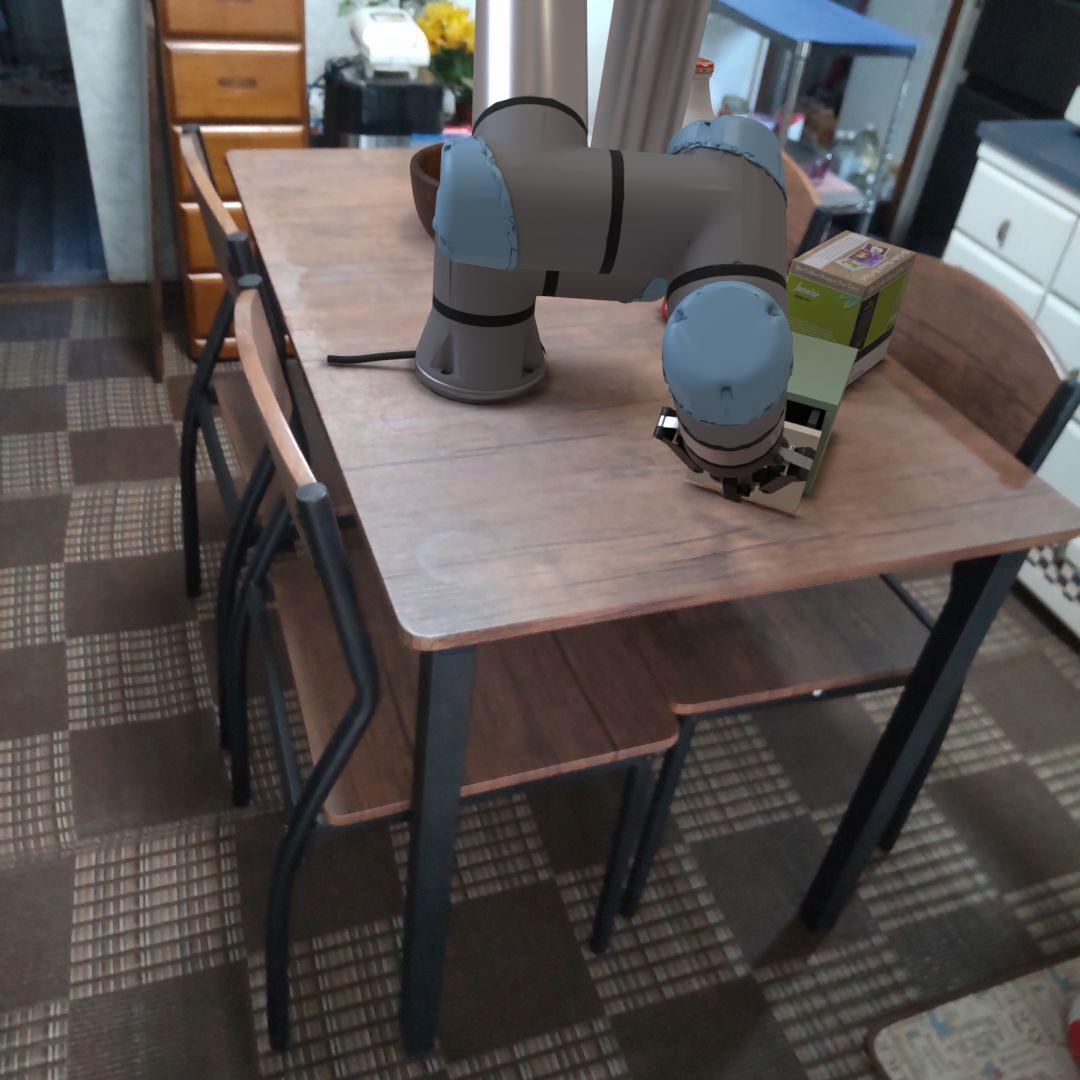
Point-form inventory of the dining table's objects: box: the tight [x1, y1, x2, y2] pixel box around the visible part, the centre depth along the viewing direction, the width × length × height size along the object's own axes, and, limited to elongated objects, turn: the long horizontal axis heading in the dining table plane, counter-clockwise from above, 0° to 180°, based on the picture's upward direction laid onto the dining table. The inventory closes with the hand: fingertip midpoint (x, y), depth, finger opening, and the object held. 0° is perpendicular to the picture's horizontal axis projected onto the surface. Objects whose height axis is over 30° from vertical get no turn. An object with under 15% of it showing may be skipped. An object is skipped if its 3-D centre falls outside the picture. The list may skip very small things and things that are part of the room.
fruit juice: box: [682, 56, 717, 128], centre depth 141 cm, size 9×9×28 cm
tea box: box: [786, 229, 918, 386], centre depth 123 cm, size 15×10×15 cm
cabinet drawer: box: [685, 400, 823, 513], centre depth 101 cm, size 17×12×9 cm
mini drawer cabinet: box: [787, 332, 858, 495], centre depth 107 cm, size 14×13×11 cm
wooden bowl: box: [409, 141, 446, 241], centre depth 148 cm, size 25×25×10 cm
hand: (736, 487), depth 94 cm, fingers closed
